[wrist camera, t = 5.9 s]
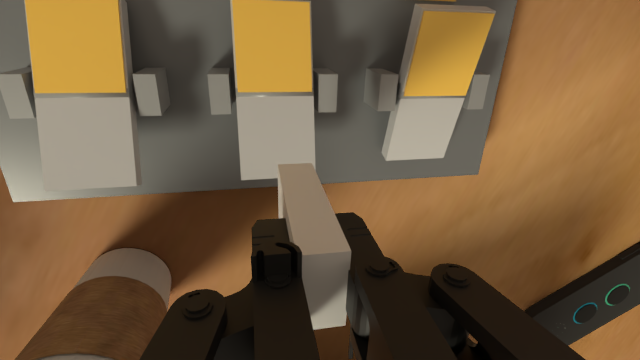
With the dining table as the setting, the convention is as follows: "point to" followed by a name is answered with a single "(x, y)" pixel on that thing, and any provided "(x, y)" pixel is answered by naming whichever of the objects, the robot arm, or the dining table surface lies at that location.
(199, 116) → the switch panel
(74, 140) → the switch
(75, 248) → the dining table surface
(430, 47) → the switch
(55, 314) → the coffee cup
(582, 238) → the dining table surface
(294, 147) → the switch
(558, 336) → the smart home device
